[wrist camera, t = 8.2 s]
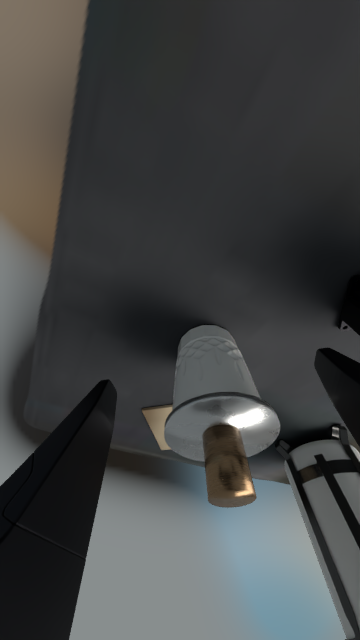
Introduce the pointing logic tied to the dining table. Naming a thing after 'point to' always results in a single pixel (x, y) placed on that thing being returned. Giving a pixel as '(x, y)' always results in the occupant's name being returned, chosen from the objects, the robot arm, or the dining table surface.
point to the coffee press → (331, 515)
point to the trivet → (158, 422)
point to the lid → (223, 440)
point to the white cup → (210, 365)
